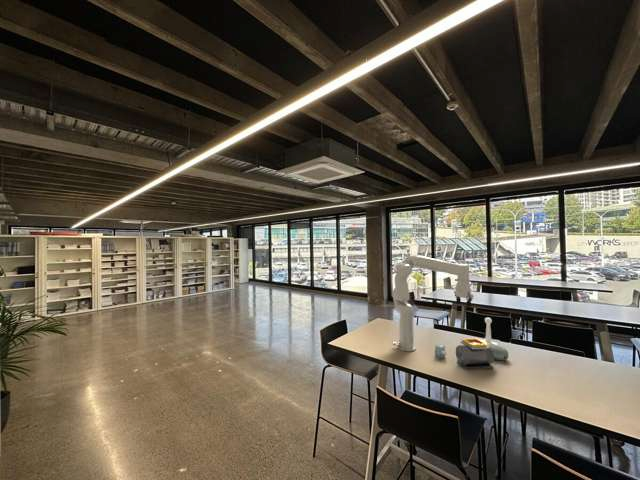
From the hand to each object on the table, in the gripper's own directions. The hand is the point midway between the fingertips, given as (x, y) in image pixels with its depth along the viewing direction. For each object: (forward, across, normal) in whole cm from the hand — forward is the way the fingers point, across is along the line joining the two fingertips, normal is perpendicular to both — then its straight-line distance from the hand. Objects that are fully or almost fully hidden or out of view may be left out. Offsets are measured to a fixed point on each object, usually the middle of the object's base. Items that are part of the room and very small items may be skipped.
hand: (463, 305), depth 190 cm
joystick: (+30, +2, +19) cm, 36 cm away
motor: (+30, +26, -16) cm, 43 cm away
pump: (+30, +12, -28) cm, 43 cm away
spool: (+30, +21, +5) cm, 37 cm away
